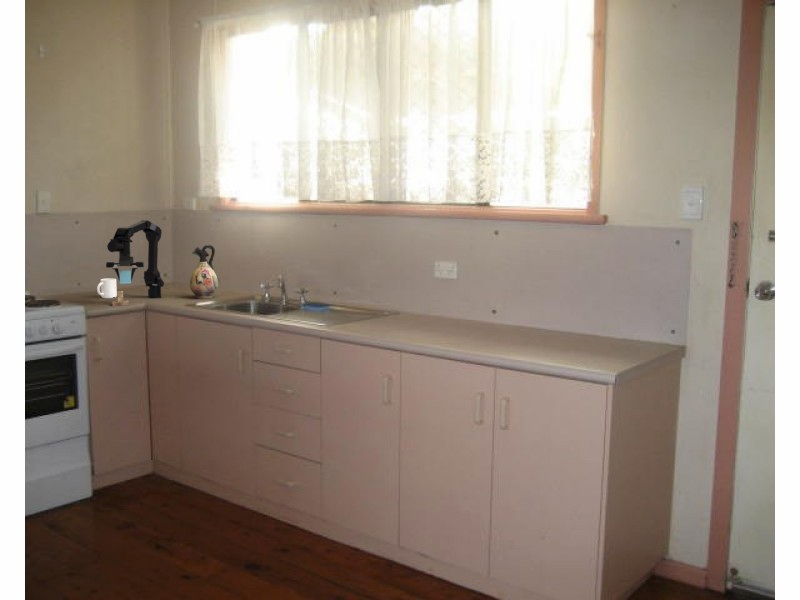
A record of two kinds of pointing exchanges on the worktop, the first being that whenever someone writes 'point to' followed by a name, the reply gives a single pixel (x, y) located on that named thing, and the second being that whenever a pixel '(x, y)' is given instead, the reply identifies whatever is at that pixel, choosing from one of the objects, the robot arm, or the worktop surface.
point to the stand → (120, 300)
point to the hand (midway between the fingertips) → (125, 280)
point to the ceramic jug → (204, 275)
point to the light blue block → (125, 276)
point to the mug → (107, 288)
